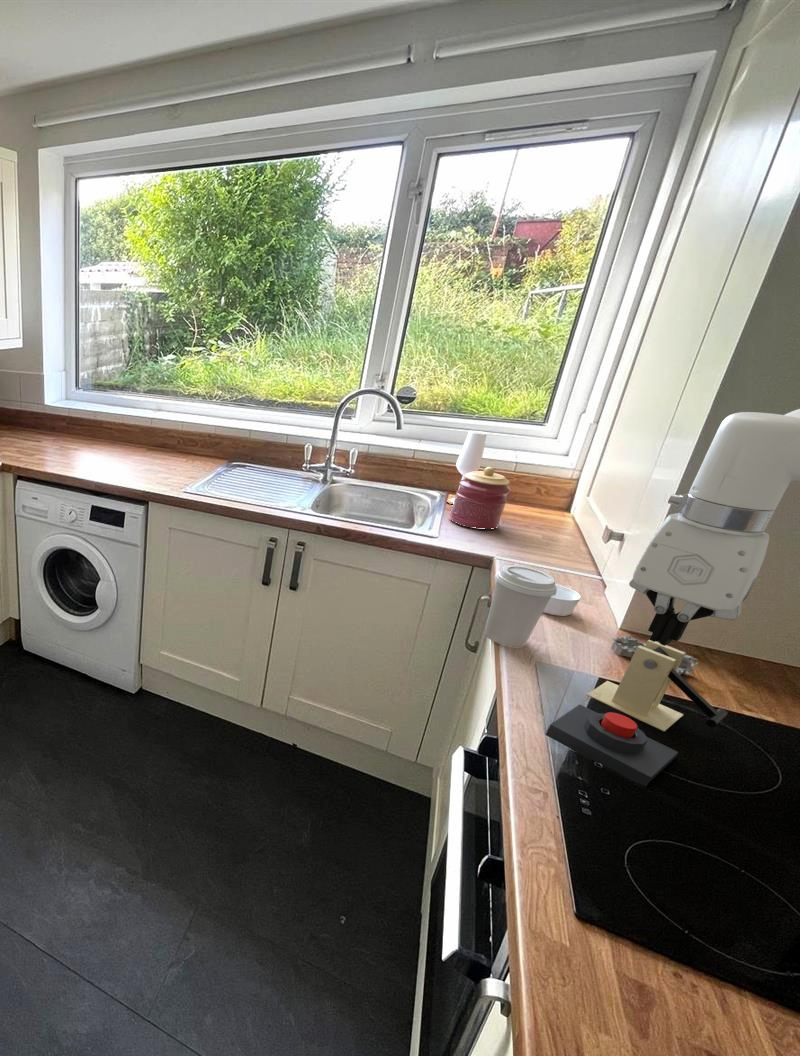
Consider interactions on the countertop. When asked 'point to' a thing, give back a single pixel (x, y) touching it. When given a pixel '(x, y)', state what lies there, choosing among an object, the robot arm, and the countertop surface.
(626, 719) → the button
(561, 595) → the ramekin
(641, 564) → the robot arm
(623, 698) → the beige lever stand
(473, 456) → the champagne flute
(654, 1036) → the countertop surface
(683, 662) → the egg carton
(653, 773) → the button block
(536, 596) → the coffee cup
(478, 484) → the kitchen canister
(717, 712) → the lever
